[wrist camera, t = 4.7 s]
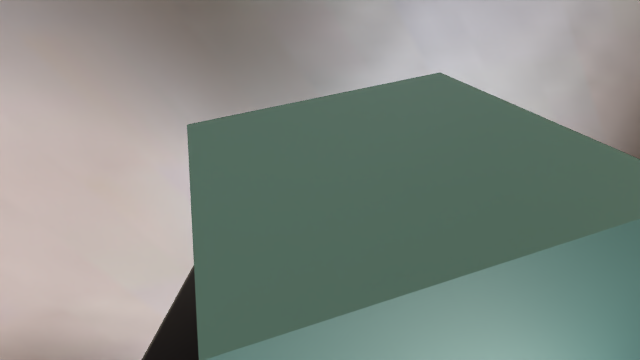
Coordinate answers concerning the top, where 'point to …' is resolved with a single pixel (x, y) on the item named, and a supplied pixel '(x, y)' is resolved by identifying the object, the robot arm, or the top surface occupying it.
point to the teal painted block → (412, 231)
